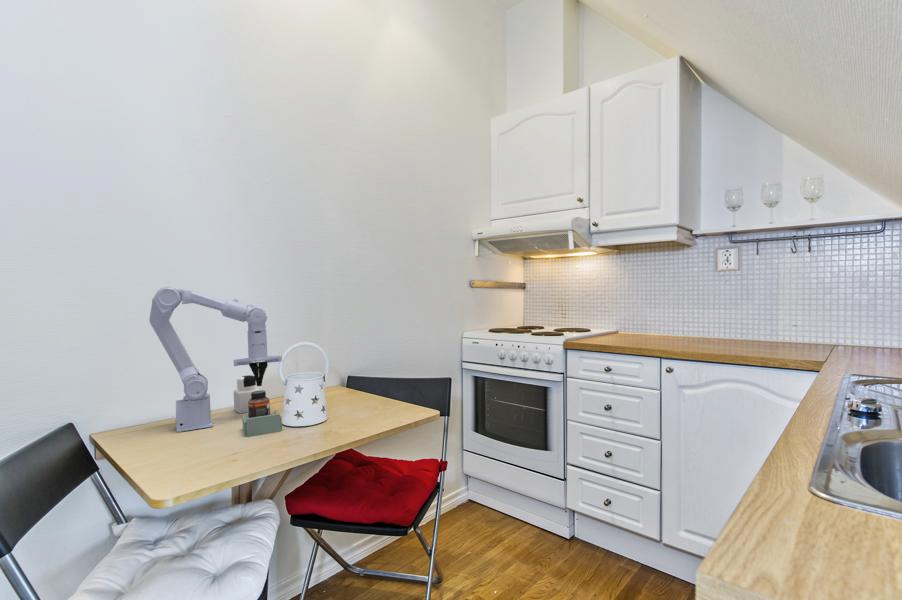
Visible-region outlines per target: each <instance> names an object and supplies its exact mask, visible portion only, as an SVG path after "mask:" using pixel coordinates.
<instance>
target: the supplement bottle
mask: <svg viewBox="0 0 902 600" xmlns="http://www.w3.org/2000/svg"><path fill="white" fill-rule="evenodd" d="M259 390H260V391H254V392H251V397H252V398H251V399H250V400H249V401H248V412H247V413H248V418H253V417H260V416H267V415H271V405H270V404H271V403H270V402H271V401H270V398H269V397H267V394H266V393H267V392H266V390H262V389H259Z"/></svg>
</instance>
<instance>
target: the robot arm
mask: <svg viewBox="0 0 902 600" xmlns="http://www.w3.org/2000/svg"><path fill="white" fill-rule="evenodd" d="M180 304H182V305H187V304H195V305H199V306H202V307H205V308H206V307H207V308H209V309H214V310H217V311H220V313H221V315H222V316H223V317H226V318H228V319H232V320H234V321H239V322H241V323H245V322H247V329H248V330H247V349H248V351H247V352H248V353H247V354H248V357H245V358H237V359H233V367H238V366H247V365H248V366H249V368H250V369H251V370H250V371H252V372H251V373H252V374H253V376H255V379H256V387H262V385H263V379H264V376H265V373H266V371H267V368H268V365H269V364H270V363H281V362H283V357H282V355H280V354H279V355H268V340H267V339H268V336H267V329H266V328H267V325H266V322H267V321H268V316H267V313H266V311H265V310H263V309H261V308H258V307H254V304H245V303H242V302H239V299H237V298H234V299H231V298H229V299H227V300H224V301H223V300H220V299H216V298H213V297H211V296H208V295H205V294H202V293H199V292H197V291H193V290H188V289H182V288H178V289H177V288H175V287H173V286H163V287H161V288H160V289H158V290H157V291H156V293H155V294H154V296H153V297H152V299H151V307H150V308H151V309H150V312H149V317H148V319H149V323H150V325H151V327H152V329H153V331H154V333H155V334H156V336H157V338H158V339H159V341H160V342H161V344H162V346H163V348H164V350H165V352H166V354H167V355H168V356H169V358H170V360H171V362H172V364H173V366H174V367H175V369H176V371H177V373H178V375H179V377H180V379H181V382H182V384H183V392H184V394H185V395H184V396H183V398H182V399H179V400H176V401H175V419H174V420H175V427H176V432H177V433H180V432H187V431H193V430H200V429H207V428H212V427H213V419H212V414H211V411H212V410H211V395H210V393H208V390H209V389H208V388H209V386H208V385H209V380H208V379H207V377H206V376H205V375H203V374H201V373H200V372H199V370H198V368H197V367H196V365H195V364H194V362H193V360H192V359H191V357H190V354H189V353H188V351H187V349H186V347H185V346H184V345H183V343H182V341H181V339H180V337H179V335H178V334H177V332H176V330H175V329H174V326H173V325H172V323H171V321H170V320H171V317H172V315H173V313H174V311H175V309H176V308H177V307H178V306H179V305H180ZM268 363H269V364H268Z"/></svg>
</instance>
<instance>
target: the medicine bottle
mask: <svg viewBox="0 0 902 600" xmlns="http://www.w3.org/2000/svg"><path fill="white" fill-rule="evenodd" d="M260 390H261V389H258V388H257V384H256V379H255V376H254V375H250V374H249V375H242V376H239V377H237V378H236V389H234V390H233V410H234V411H235V412H237V413H238V414H241V415H242V414H245V413H248V401H249V400H250V399H251V398H252V397H251V392H254V391H260Z"/></svg>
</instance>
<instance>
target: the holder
mask: <svg viewBox="0 0 902 600" xmlns="http://www.w3.org/2000/svg"><path fill="white" fill-rule="evenodd" d="M282 418H283V417H282V415H281V414H280V412H279V410H274V414H270V415H267V416H260V417H253V418H249V417H247V415H246V414H245V415H242V431H243V434H244V437H249V438H250V437H254V436H261V435H267V434H273V433H278V432H281V431H282V430H283V427H282V426H283V423H282V421H283V420H282Z"/></svg>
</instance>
